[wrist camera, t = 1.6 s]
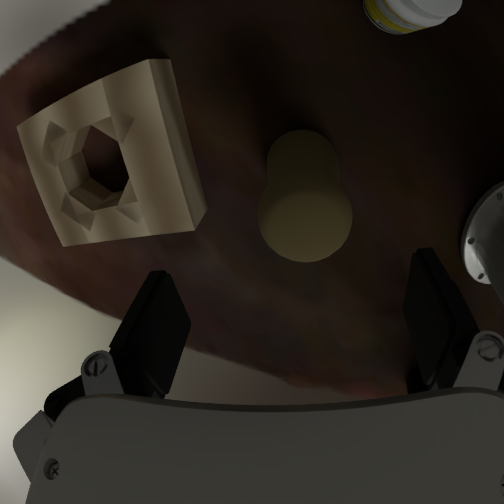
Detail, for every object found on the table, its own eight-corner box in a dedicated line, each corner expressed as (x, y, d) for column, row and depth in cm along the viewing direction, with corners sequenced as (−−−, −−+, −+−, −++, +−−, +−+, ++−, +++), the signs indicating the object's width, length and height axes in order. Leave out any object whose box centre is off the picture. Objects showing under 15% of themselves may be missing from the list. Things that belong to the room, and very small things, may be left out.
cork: (257, 185, 25) (233, 261, 16) (277, 119, 22) (263, 157, 13) (324, 206, 26) (336, 291, 17) (349, 144, 22) (384, 199, 13)
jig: (170, 59, 20) (148, 58, 17) (207, 208, 27) (194, 230, 24) (42, 116, 23) (16, 126, 20) (82, 227, 31) (63, 246, 27)
